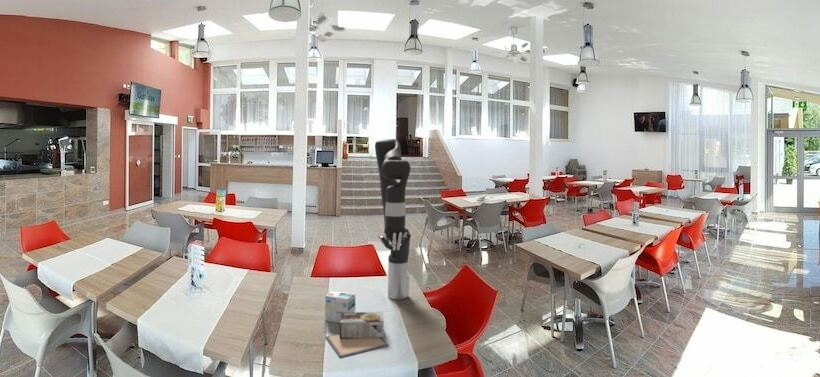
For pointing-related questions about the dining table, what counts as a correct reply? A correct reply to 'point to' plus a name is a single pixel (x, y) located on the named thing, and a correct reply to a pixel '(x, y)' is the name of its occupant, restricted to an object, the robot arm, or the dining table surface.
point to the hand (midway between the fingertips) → (394, 259)
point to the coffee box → (361, 325)
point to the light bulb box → (338, 305)
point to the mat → (354, 344)
